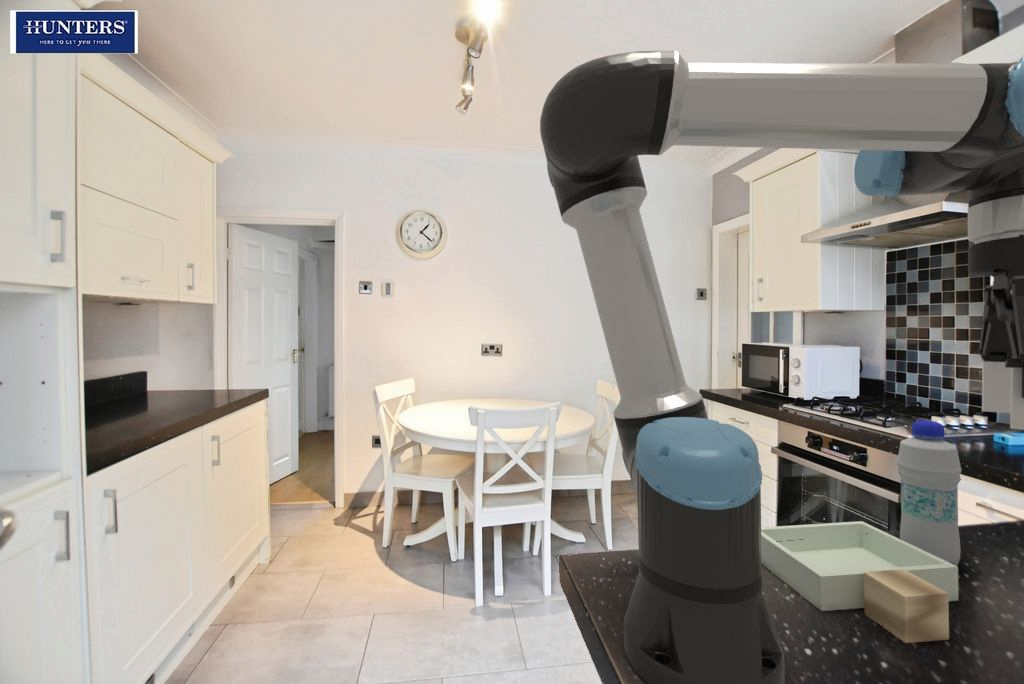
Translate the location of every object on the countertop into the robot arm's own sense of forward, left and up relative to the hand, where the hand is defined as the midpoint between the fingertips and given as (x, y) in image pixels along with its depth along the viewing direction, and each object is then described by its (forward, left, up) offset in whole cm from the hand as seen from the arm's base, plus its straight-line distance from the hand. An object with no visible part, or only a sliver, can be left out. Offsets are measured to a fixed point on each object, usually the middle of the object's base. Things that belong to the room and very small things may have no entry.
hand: (1012, 420), depth 53 cm
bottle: (-1, +10, -22) cm, 24 cm away
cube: (-15, -5, -22) cm, 27 cm away
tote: (-15, +6, -22) cm, 27 cm away
